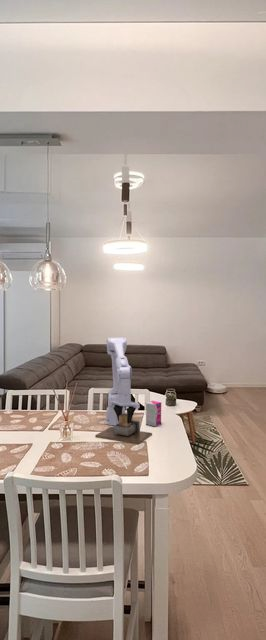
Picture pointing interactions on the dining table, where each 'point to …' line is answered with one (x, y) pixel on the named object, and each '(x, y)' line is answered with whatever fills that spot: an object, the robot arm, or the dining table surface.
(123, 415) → the brown rectangular block
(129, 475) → the dining table surface
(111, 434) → the bracket
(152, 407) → the supplement box
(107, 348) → the robot arm
